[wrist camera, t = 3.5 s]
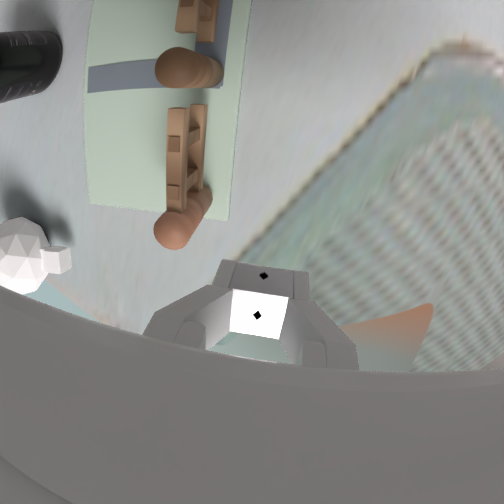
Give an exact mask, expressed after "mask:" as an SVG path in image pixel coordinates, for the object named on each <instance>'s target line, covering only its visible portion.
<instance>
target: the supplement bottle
mask: <svg viewBox="0 0 504 504" xmlns="http://www.w3.org/2000/svg"><path fill="white" fill-rule="evenodd" d="M61 57H62V49H61V44H60V41H59V39H58V37H57V36H56V35H55V34H53V33H52V32H48V31H13V32H0V103H3V102H7V101H10V100H14V99H18V98H22V97H26V96H30V95H34V94H38V93H40V92H42V91H44V90H45V89H46V88H47V87H48V86H49V85H50V84H51V83H52V82H53V80H54V78H55V77H56V75H57V73H58V70H59V67H60V63H61Z"/></svg>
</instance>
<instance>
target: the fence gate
mask: <svg viewBox="0 0 504 504" xmlns="http://www.w3.org/2000/svg"><path fill="white" fill-rule="evenodd" d="M207 112H208V104H190V108H183V107H173V108H168V115H167V142H166V211H165V212H164V213H163V214H162V215H161V217H160V218H159V219H158V220H157V221H156V222H155V225H154V235H155V238H156V239H157V241H158V242H159V243H160V244H161V245H162V246H164V247H165V248H168V249H171V250H178V249H181V248H183V247H184V246H185V245H186V244H187V242H188V241H189V239H190V238H191V236H192V234H193V233H194V231H195V230H196V228H197V226H198V225H199V223H200V222H201V220H202V218H203V217H204V215H205V214H206V212H207V211H208V209H209V207H210V206H211V204H212V201H213V197H212V193H211V191H210V190H209V189H208V188H207V187H206V186H204V185H203V173H204V155H205V139H206V125H207Z"/></svg>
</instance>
